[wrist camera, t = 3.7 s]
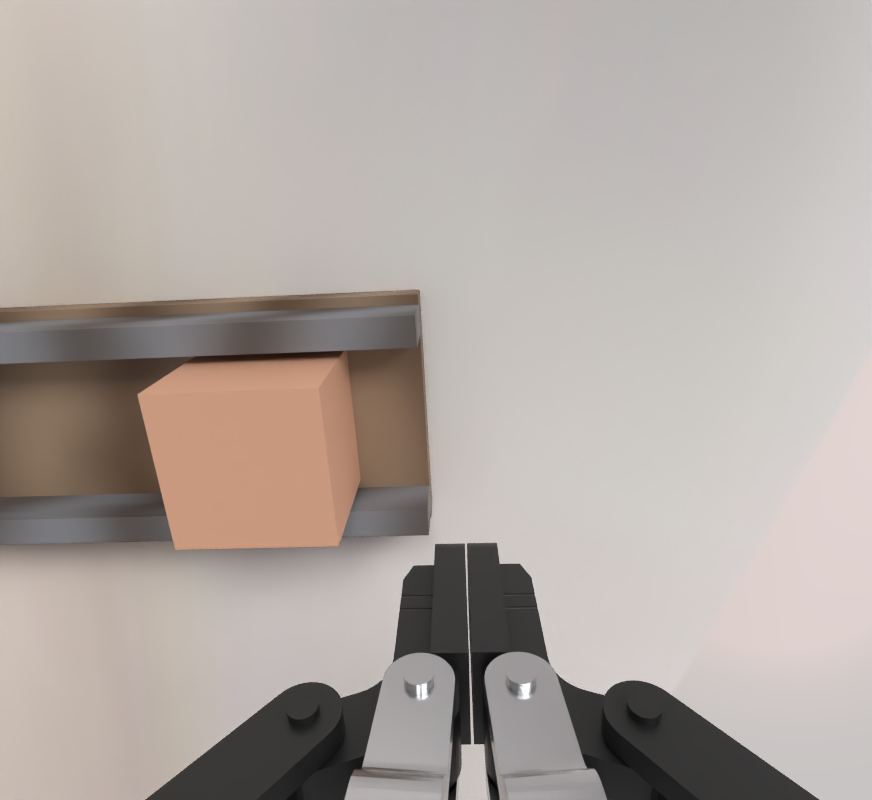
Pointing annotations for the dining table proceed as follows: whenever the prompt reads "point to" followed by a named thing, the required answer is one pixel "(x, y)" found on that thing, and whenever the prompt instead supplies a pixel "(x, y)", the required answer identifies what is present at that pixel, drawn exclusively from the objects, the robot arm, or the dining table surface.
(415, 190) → the dining table surface
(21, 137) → the dining table surface
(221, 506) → the block
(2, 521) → the chute
